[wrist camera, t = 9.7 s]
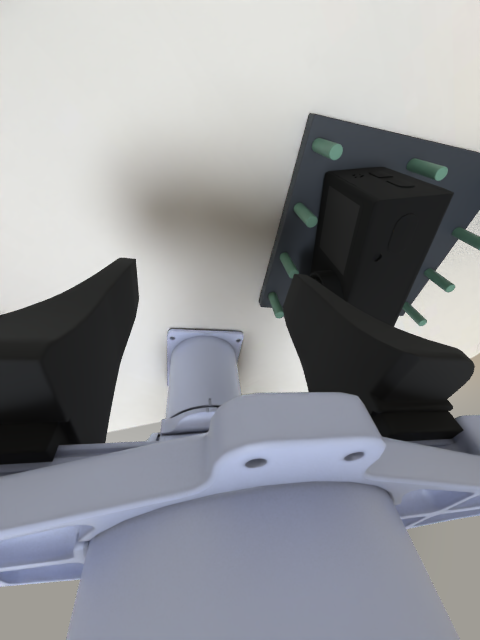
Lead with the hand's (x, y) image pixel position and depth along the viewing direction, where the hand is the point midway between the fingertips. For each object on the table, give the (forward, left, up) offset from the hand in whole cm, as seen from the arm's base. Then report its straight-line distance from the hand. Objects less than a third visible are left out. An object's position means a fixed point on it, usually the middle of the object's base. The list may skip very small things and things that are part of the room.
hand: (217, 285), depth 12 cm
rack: (0, -14, -10) cm, 17 cm away
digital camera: (0, -10, -10) cm, 14 cm away
